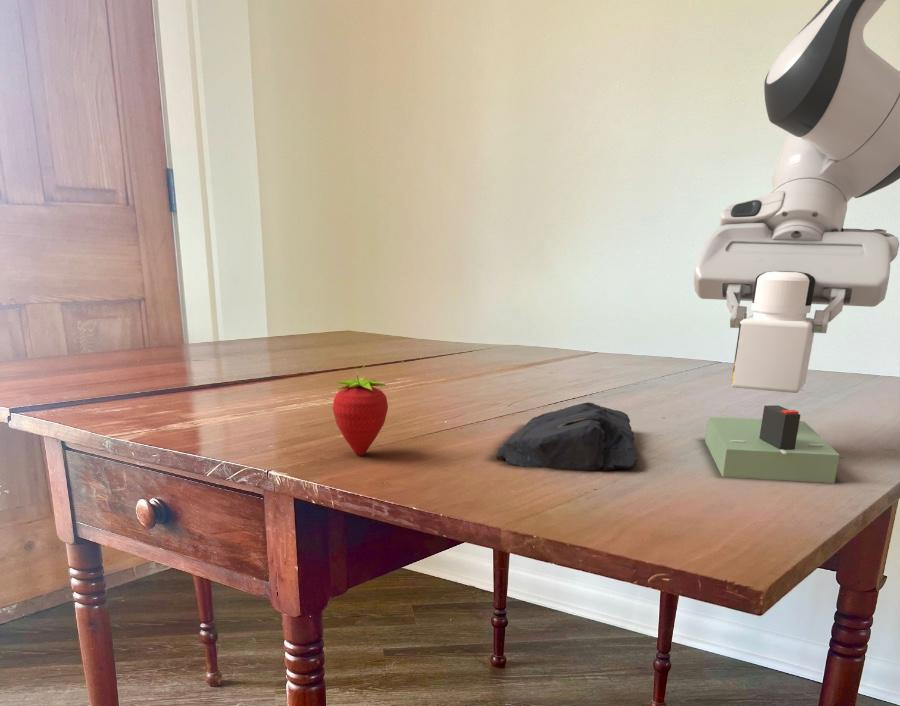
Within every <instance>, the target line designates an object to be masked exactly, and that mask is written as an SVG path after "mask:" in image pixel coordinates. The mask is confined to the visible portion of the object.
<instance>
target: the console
mask: <svg viewBox="0 0 900 706" xmlns="http://www.w3.org/2000/svg"><path fill="white" fill-rule="evenodd" d="M706 423H707V424H706V431H705V440H704V442H705V444H706V446H707V448H708V450H709V452H710V454H711V457H712V459H713V460H714V462H715V465H716V466H717V468H718V470H719V473H720V474H721V477H723V478H738V479H756V480H775V481H790V482H791V481H792V482H793V481H794V482H810V483H829V484H831V483H832V484H835V482H836V476H837V471H838V466H839V462H840V457H841V456H840V453H838V451H836V449H834V448H833V447H832V446H831V445H830V444H829V443H828V442H827V441H825V439H823V437H822V436H821V435H819V434H818V433H817V432H816V431H815V430H814V429H813V428H812V427H811V426H810V425H809V424H808V423H807V422H805V421H804V420H800V421H799V427H798V433H797V439H796V444H795V449H779V448H777V447H775V446H773V445H771V444H769V443H767V442H765V441H763V440H762V439H760V438H759V437H760V430H761V424H762V418H744V417H743V418H740V417H721V416H719V417H718V416H708V417H707V422H706Z"/></svg>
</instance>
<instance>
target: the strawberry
mask: <svg viewBox="0 0 900 706" xmlns="http://www.w3.org/2000/svg"><path fill="white" fill-rule="evenodd" d="M366 365H367V363H365V364H363V366H362V367H361V368H360V370H359V371H358V372H357V373H356V379H345V380H338V381H336V384H343V385H342V386H340V387H337V390H339V391H337V393H336V394H335V396H333V401H332V402H333V403H332V412H333V416H334V420H335V423H336V426H337V428H338V430H339V431H340V433H341V435H342V436H343V438H344V440H345V441H346V443H347V444H348V445H349V447H350V448H351V450H352V452H353V453H354V454H355V455H356V456H358V457H363V456H364V455H366V453H367V452H368V450H369V448H370V447H371V445H372V444H373V442H374V441H375V440H376V439H377V437H378V435H379V434H380V431H381V429H382V428H383V427H384V425H385V422H386V418H387V415H388V414H387V413H388V409H389V405H388V398H387V396H386V394H385V393H384V391H383V390H382V389H379V388H377V387H380V386H381V387H382V386H383V387H385V386H386V384H385V383H381V382H378V381H376V379H375V380H374V379H366V378H362V377H359V374H360V372H361V371H362V370H363V369H364V368H365V366H366Z"/></svg>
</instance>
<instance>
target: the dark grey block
mask: <svg viewBox="0 0 900 706" xmlns="http://www.w3.org/2000/svg"><path fill="white" fill-rule="evenodd" d="M799 413H800V412H799V411H798V410H796V409H788V408H786V407H783V406H781V405H775V404H774V405H764V406H763V412H762V418H761V419H762V424H761V430H760V437H759V438H760V439H762V440H763V441H765V442H767V443H769V444H771V445H773V446H775V447H777V448H779V449H795V444H796V439H797V433H798V427H799V421H801V414H799Z"/></svg>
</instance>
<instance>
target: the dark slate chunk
mask: <svg viewBox="0 0 900 706" xmlns="http://www.w3.org/2000/svg"><path fill="white" fill-rule="evenodd" d="M630 423H631V420H630V417H629V415H628V414H627V413H625V412H624V411H621V410H617V409H611V408H608V407H605V406H601V405H600V404H596V403H594V402H590V401H589V402H588V401H587V402H582V403H577V404H575V405H571V406H568V407H564V408H560V409H557V410H553V411H549V412H545V413H542V414H540V415H537V416H534V417H532V418H531V419H530V420H529V421H528V422H527V423H526V424H525V425H524V426H523V427H522V428H521V429H519V430H517V431H516V432H514V433H513V434H511V436H510V437H509V438H508V439H507V440H506V441H505V442H504V443H503V444H502V445H501V447H499V449H498V451H497V453H496V454H495V458H496V459H498V460H499V461H502V462H506V464H507V465H508V466H513V467H521V468H540V469H541V468H544V469H551V470H561V471H578V472H594V471H604V472H607V471H608V472H609V471H616V470H629V469H631V468H633V467H635V466H637V464H638V458H639V454H638V449H637V448H636V445H635V442H634V441H635V440H636V438H635V433H634V431H633V430H632V426H631V424H630Z"/></svg>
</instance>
